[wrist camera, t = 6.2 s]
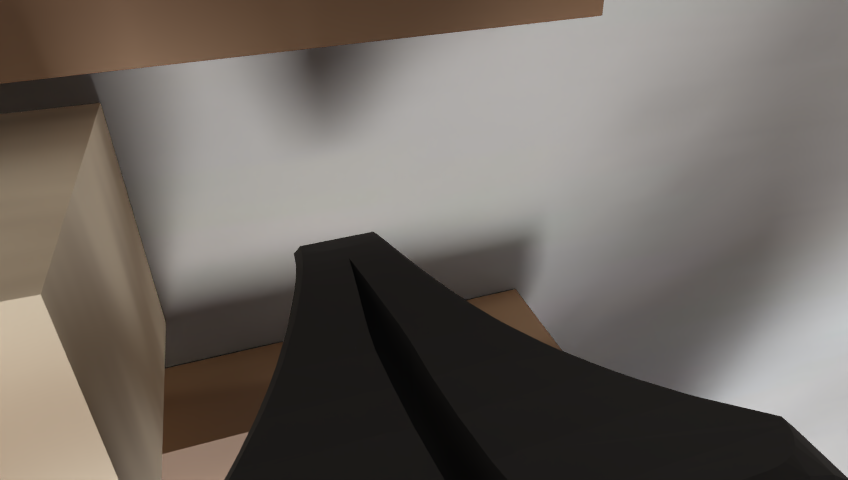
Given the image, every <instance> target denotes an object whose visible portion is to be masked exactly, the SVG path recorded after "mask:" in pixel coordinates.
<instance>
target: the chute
mask: <svg viewBox="0 0 848 480" xmlns="http://www.w3.org/2000/svg"><path fill="white" fill-rule="evenodd" d="M603 3H604V0H0V84H2V83H11V82H20V81H29V80H38V79H46V78H55V77H64V76H73V75H82V74H91V73H99V72H108V71H117V70H126V69H135V68H143V67H152V66H161V65H170V64H179V63H187V62H196V61H205V60H214V59H223V58H231V57H240V56H249V55H258V54H267V53H276V52H284V51H293V50H302V49H311V48H320V47H328V46H337V45H346V44H355V43H364V42H372V41H381V40H390V39H399V38H408V37H416V36H425V35H434V34H443V33H452V32H461V31H469V30H478V29H487V28H496V27H505V26H513V25H522V24H531V23H540V22H549V21H557V20H566V19H575V18H584V17H593V16H601V15H602V12H603ZM466 301H468V302H469V303H471V304H473V305H474V306H476V307H477V308H479V309H481V310H482V311H484V312H486V313H487V314H489V315H491V316H492V317H494V318H496V319H498V320H500V321H501V322H503V323H505V324H507V325H509V326H511V327H513V328H515V329H517V330H519V331H521V332H523V333H525V334H527V335H529V336H531V337H533V338H535V339H537V340H539V341H541V342H543V343H545V344H547V345H550V346H552V347H554V348H557V349H559V350H561V348H560V347H559V346H558V345H557V343H556V342H555V341H554V339H553V338H552V337H551V335H550V334H549V333H548V331H547V330H546V329H545V327H544V326H543V325H542V323H541V322H540V321H539V319H538V318H537V317H536V316H535V314H534V313H533V312H532V310H531V309H530V308H529V306H528V305H527V304H526V302H525V301H524V300H523V298H522V297H521V296H520V294H519V293H518V292H517V290H516V289H514V290H509V291H505V292H500V293H496V294H492V295H487V296H483V297H478V298H474V299H470V300H466ZM282 345H283V342H280V343H276V344H271V345H267V346H262V347H258V348H254V349H249V350H245V351H240V352H236V353H231V354H227V355H223V356H218V357H214V358H209V359H205V360H201V361H196V362H192V363H187V364H183V365H179V366H174V367H170V368H165V376H164V410H163V444H162V478H161V480H224V479H225V477H226V476H227V474H228V472H229V470H230V468H231V466H232V465H233V463H234V461H235V459H236V457H237V455H238V453H239V451H240V449H241V447H242V445H243V443H244V441H245V439H246V437H247V435H248V433H249V431H250V429H251V426H252V424H253V422H254V420H255V418H256V416H257V414H258V411H259V409H260V407H261V404H262V402H263V399H264V397H265V395H266V392H267V390H268V387H269V384H270V382H271V379H272V376H273V373H274V371H275V368H276V365H277V361H278V358H279V355H280V351H281V348H282ZM561 351H562V350H561Z"/></svg>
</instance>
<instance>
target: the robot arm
mask: <svg viewBox="0 0 848 480" xmlns="http://www.w3.org/2000/svg"><path fill="white" fill-rule="evenodd" d="M294 256H295V262H296V283H295V291H294V298H293V303H292V308H291V313H290V318H289V323H288V327H287V331H286V335H285V338H284V341H283V345H282V348H281V351H280V355H279V358H278V361H277V365H276V368H275V371H274V373H273V376H272V379H271V382H270V384H269V387H268V390H267V392H266V395H265V397H264V399H263V402H262V404H261V407H260V409H259V411H258V414H257V416H256V418H255V420H254V422H253V424H252V426H251V429H250V431H249V433H248V435H247V437H246V439H245V441H244V443H243V445H242V447H241V449H240V451H239V453H238V455H237V457H236V459H235V461H234V463H233V465H232V466H231V468H230V470H229V472H228V474H227V476H226V477H225V479H224V480H848V478H847V477H846V476H845V475H844V474H843V473H842V472H841V471H840V470H839V469H838V468H837V467H835V466H834V465H833V464H832V463H831V462H830V461H829V460H828V459H827V458H826V457H825V456H824V455H823V454H822V453H821V452H820V451H818V450H817V449H816V448H815V447H814V446H813V445H812V444H811V443H810V442H809V441H808V440H807V439H806V438H805V437H804V436H803V435H801V434H800V433H799V432H798V431H797V430H796V429H795V428H794V427H793V426H792V425H790V424H789V423H788V422H787V421H786V420H785V419H784V418H782V417H781V416H777V415H772V414H768V413H764V412H760V411H755V410H751V409H747V408H742V407H738V406H734V405H730V404H725V403H721V402H717V401H712V400H708V399H704V398H700V397H695V396H692V395H688V394H684V393H681V392H678V391H674V390H671V389H668V388H665V387H661V386H658V385H655V384H651V383H648V382H645V381H641V380H638V379H635V378H632V377H629V376H626V375H624V374H621V373H618V372H615V371H612V370H609V369H606V368H604V367H601V366H599V365H596V364H594V363H591V362H588V361H586V360H583V359H581V358H578V357H576V356H573V355H571V354H568V353H566V352H563V351H561V350H559V349H557V348H554V347H552V346H550V345H547V344H545V343H543V342H541V341H539V340H537V339H535V338H533V337H531V336H529V335H527V334H525V333H523V332H521V331H519V330H517V329H515V328H513V327H511V326H509V325H507V324H505V323H503V322H501V321H500V320H498V319H496V318H494V317H492V316H491V315H489V314H487V313H486V312H484V311H482V310H481V309H479V308H477V307H476V306H474V305H473V304H471V303H469V302H468V301H466V300H464V299H463V298H461V297H460V296H458V295H457V294H455V293H454V292H452V291H451V290H450V289H448V288H447V287H445V286H444V285H443V284H441V283H440V282H438V281H437V280H435V279H434V278H433V277H431V276H430V275H428V274H427V273H426V272H424V271H423V270H422V269H420V268H419V267H418V266H417V265H415V264H414V263H413V262H411V261H410V260H409V259H408V258H406V257H405V256H404V255H402V254H401V253H400V252H399V251H397V250H396V249H395V248H394V247H393V246H391V245H390V244H389V243H388V242H386V241H385V240H384V239H383V238H381V237H380V236H379V235H377V234H376V233H374V232H370V233H365V234H360V235H355V236H350V237H345V238H340V239H335V240H329V241H324V242H319V243H314V244H309V245H304V246H300V247H299V248H298V250H297V251H296V252H295V253H294Z"/></svg>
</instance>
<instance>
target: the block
mask: <svg viewBox="0 0 848 480" xmlns="http://www.w3.org/2000/svg"><path fill="white" fill-rule="evenodd" d="M165 342H166V322H165V318H164V315H163V312H162V308H161V305H160V302H159V298H158V295H157V292H156V288H155V285H154V281H153V278H152V275H151V271H150V268H149V265H148V261H147V258H146V255H145V251H144V248H143V244H142V241H141V238H140V234H139V231H138V228H137V224H136V221H135V218H134V214H133V211H132V208H131V204H130V201H129V197H128V194H127V191H126V187H125V184H124V181H123V177H122V174H121V171H120V167H119V164H118V161H117V157H116V154H115V150H114V147H113V144H112V140H111V137H110V134H109V130H108V127H107V124H106V120H105V117H104V114H103V110H102V107H101V103H94V104H85V105H76V106H67V107H58V108H49V109H40V110H32V111H23V112H14V113H5V114H0V480H161V478H162V444H163V410H164V376H165Z"/></svg>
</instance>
